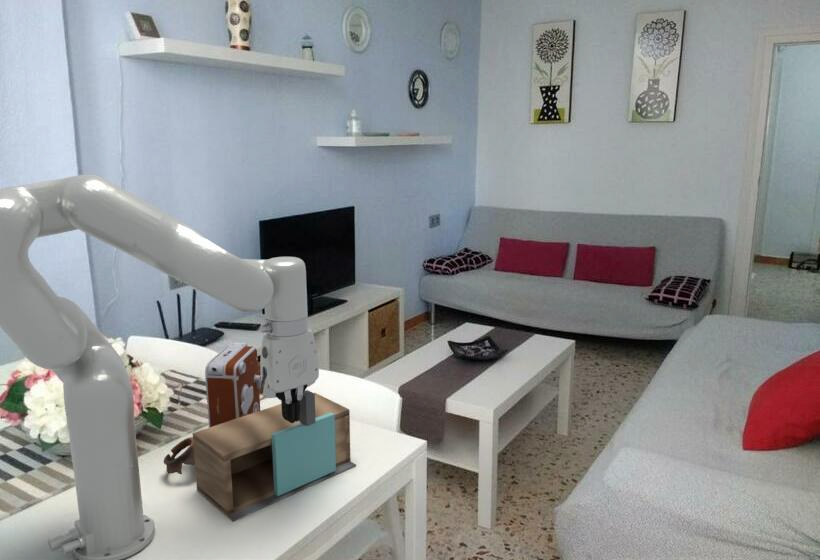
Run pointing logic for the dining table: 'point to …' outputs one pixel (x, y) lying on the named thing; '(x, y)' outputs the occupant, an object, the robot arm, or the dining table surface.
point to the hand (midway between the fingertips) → (291, 419)
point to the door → (304, 448)
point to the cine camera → (232, 384)
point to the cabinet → (255, 458)
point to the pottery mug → (184, 458)
